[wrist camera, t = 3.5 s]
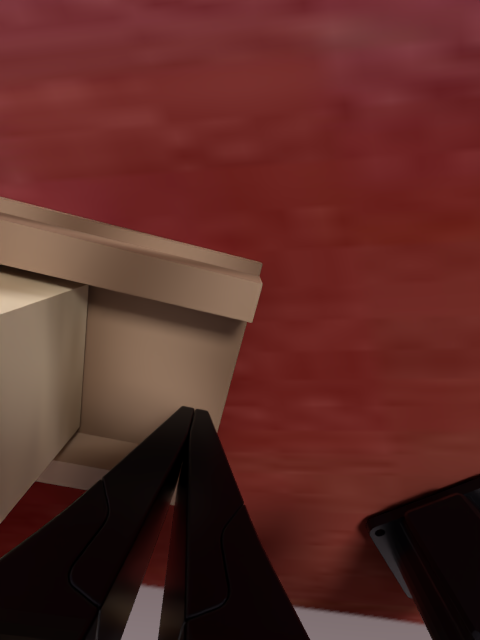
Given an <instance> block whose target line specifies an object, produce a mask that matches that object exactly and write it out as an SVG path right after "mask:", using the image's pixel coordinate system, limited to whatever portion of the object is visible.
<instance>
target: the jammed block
mask: <svg viewBox="0 0 480 640" xmlns="http://www.w3.org/2000/svg"><path fill="white" fill-rule="evenodd" d="M88 287H89V285H88V284H83V283H79V282H75V281H71V280H66V279H62V278H58V277H53V276H49V275H45V274H40V273H36V272H32V271H28V270H23V269H19V268H15V267H10V266H6V265H2V264H0V523H1V522H2V521H3V520H4V519H5V517H6V516H7V515H8V514H9V512H10V511H11V510H12V509H13V508H14V506H15V505H16V504H17V503H18V501H19V500H20V499H21V498H22V497H23V495H24V494H25V493H26V492H27V491H28V489H29V488H30V487H31V486H32V484H33V483H34V482H35V481H36V480H37V478H38V477H39V476H40V475H41V473H42V472H43V471H44V470H45V469H46V467H47V466H48V465H49V464H50V462H51V461H52V460H53V459H54V458H55V456H56V455H57V454H58V453H59V452H60V450H61V449H62V448H63V447H64V445H65V444H66V443H67V442H68V441H69V439H70V438H71V437H72V436H73V434H74V433H75V432H76V431H77V430H78V428H79V427H80V414H81V398H82V382H83V366H84V351H85V335H86V319H87V303H88Z"/></svg>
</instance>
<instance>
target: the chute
mask: <svg viewBox="0 0 480 640" xmlns="http://www.w3.org/2000/svg"><path fill="white" fill-rule="evenodd" d="M0 264H2V265H6V266H10V267H15V268H19V269H23V270H28V271H32V272H36V273H40V274H45V275H49V276H53V277H58V278H62V279H66V280H71V281H75V282H79V283H83V284H88V285H89V287H88V303H87V319H86V335H85V351H84V366H83V382H82V398H81V414H80V427H79V428H78V430H77V431H76V432H75V433H74V434H73V436H72V437H71V438H70V439H69V441H68V442H67V443H66V444H65V445H64V447H63V448H62V449H61V450H60V452H59V453H58V454H57V455H56V456H55V458H54V459H53V460H52V461H51V462H50V464H49V465H48V466H47V467H46V469H45V470H44V471H43V472H42V473H41V475H40V476H39V477H38V478H37V480H36V481H37V482H42V483H48V484H54V485H60V486H65V487H71V488H77V489H83V490H88V489H89V488H91V487H92V486H93V485H94V484H95V483H96V482H97V481H98V480H100V479H101V480H102V477H103V476H104V475H105V474H106V473H107V472H109V471H110V470H111V469H112V468H113V467H114V466H115V465H116V464H118V463H119V462H120V461H121V460H122V459H123V458H124V457H125V456H126V455H128V454H129V453H130V452H131V451H132V450H133V449H134V448H135V447H137V446H138V445H139V444H140V443H141V442H142V441H143V440H144V439H145V438H147V437H148V436H149V435H150V434H151V433H152V432H153V431H154V430H155V429H157V428H158V427H159V426H160V425H161V424H162V423H163V422H164V421H166V420H167V419H168V418H169V417H170V416H171V415H172V414H173V413H174V412H176V411H177V410H178V409H179V408H180V407H181V406H187V407H192V408H194V409H202V410H207V411H208V412H209V414H210V417H211V419H212V422H213V424H214V427H215V429H216V432H217V431H218V428H219V424H220V420H221V416H222V413H223V409H224V405H225V402H226V398H227V394H228V390H229V387H230V383H231V379H232V376H233V372H234V368H235V364H236V361H237V357H238V353H239V350H240V346H241V342H242V338H243V335H244V331H245V327H246V324H247V322H251V323H252V321H253V318H254V314H255V310H256V307H257V303H258V299H259V296H260V292H261V289H262V285H263V283H262V281H261V279H260V277H259V275H260V272H261V268H262V263H261V262H258V261H254V260H250V259H246V258H242V257H238V256H234V255H230V254H226V253H222V252H218V251H214V250H210V249H206V248H202V247H198V246H194V245H190V244H186V243H182V242H178V241H174V240H170V239H166V238H162V237H158V236H154V235H150V234H146V233H143V232H139V231H135V230H131V229H127V228H123V227H119V226H115V225H111V224H107V223H103V222H99V221H95V220H91V219H87V218H83V217H79V216H75V215H71V214H67V213H63V212H59V211H55V210H51V209H47V208H43V207H39V206H35V205H31V204H27V203H24V202H20V201H16V200H12V199H8V198H4V197H0ZM194 412H195V411H194ZM180 471H181V470H180ZM179 475H180V474H179ZM178 480H179V478H178ZM177 484H178V482H177ZM176 491H177V486H176V489H175V492H174V495H173V497H172V500H171V503H170V505H175V498H176Z"/></svg>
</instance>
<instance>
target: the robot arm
mask: <svg viewBox="0 0 480 640" xmlns="http://www.w3.org/2000/svg"><path fill="white" fill-rule="evenodd" d="M194 411H195V412H194ZM180 470H181V471H180ZM179 474H180V475H179ZM178 478H179V480H178ZM177 482H178V484H177ZM176 486H177V491H176V498H175V506H174V514H173V522H172V530H171V538H170V546H169V554H168V562H167V570H166V579H165V587H164V595H163V603H162V611H161V619H160V627H159V636H158V640H310V638H309V637H308V635H307V633H306V631H305V629H304V627H303V625H302V623H301V621H300V619H299V617H298V615H297V614H296V611H295V610H294V608H293V606H292V604H291V602H290V600H289V598H288V596H287V594H286V592H285V590H284V588H283V586H282V584H281V582H280V580H279V579H278V577H277V575H276V573H275V571H274V569H273V567H272V565H271V563H270V561H269V559H268V557H267V555H266V553H265V551H264V549H263V546H262V544H261V542H260V540H259V538H258V535H257V533H256V531H255V528H254V526H253V524H252V521H251V519H250V516H249V514H248V511H247V509H246V506H245V505H243V504H244V501H243V499H242V496H241V493H240V491H239V488H238V486H237V483H236V481H235V478H234V476H233V473H232V470H231V468H230V465H229V463H228V460H227V458H226V455H225V452H224V450H223V447H222V445H221V442H220V440H219V437H218V435H217V432H216V429H215V427H214V424H213V422H212V419H211V417H210V414H209V412H208V411H207V410H202V409H194V408H192V407H187V406H181V407H180V408H179V409H178V410H177V411H176V412H174V413H173V414H172V415H171V416H170V417H169V418H168V419H167V420H166V421H164V422H163V423H162V424H161V425H160V426H159V427H158V428H157V429H155V430H154V431H153V432H152V433H151V434H150V435H149V436H148V437H147V438H145V439H144V440H143V441H142V442H141V443H140V444H139V445H138V446H137V447H135V448H134V449H133V450H132V451H131V452H130V453H129V454H128V455H126V456H125V457H124V458H123V459H122V460H121V461H120V462H119V463H118V464H116V465H115V466H114V467H113V468H112V469H111V470H110V471H109V472H107V473H106V474H105V475H104V476H103V477H102V480H101V479H100V480H98V481H97V482H96V483H95V484H94V485H93V486H92V487H91V488H89V489H88V490H87V491H86V492H85V493H84V494H83V495H81V496H80V497H79V498H78V499H77V500H75V501H74V502H73V503H72V504H71V505H70V506H68V507H67V508H66V509H65V510H64V511H62V512H61V513H60V514H58V515H57V516H56V517H55V518H53V519H52V520H51V521H49V522H48V523H47V524H45V525H44V526H43V527H42V528H40V529H39V530H38V531H36V532H35V533H34V534H32V535H31V536H30V537H28V538H27V539H26V540H24V541H23V542H22V543H20V544H19V545H18V546H16V547H15V548H14V549H12V550H11V551H9V552H8V553H7V554H5V555H4V556H3V557H1V558H0V640H121V637H122V635H123V632H124V629H125V626H126V623H127V621H128V618H129V615H130V612H131V610H132V607H133V604H134V602H135V599H136V596H137V593H138V591H139V588H140V585H141V583H142V580H143V577H144V574H145V572H146V569H147V566H148V563H149V561H150V558H151V555H152V552H153V550H154V547H155V544H156V541H157V539H158V536H159V533H160V530H161V528H162V525H163V522H164V519H165V517H166V514H167V511H168V508H169V506H170V503H171V500H172V497H173V495H174V492H175V489H176ZM366 527H367V530H368V532H369V535H370V537H371V538H372V540H373V542H374V543H375V545H376V546H377V548H378V550H379V551H380V553H381V555H382V556H383V558H384V559H385V561H386V563H387V564H388V566H389V568H390V569H391V571H392V572H393V574H394V576H395V577H396V579H397V580H398V582H399V584H400V585H401V587H402V589H403V590H404V592H405V593H406V595H407V596H408V597H409V598H412V599H413V600H414V602H415V604H416V606H417V608H418V611H419V613H420V615H421V617H422V619H423V621H424V623H425V625H426V627H427V630H428V632H429V634H430V636H431V638H432V640H480V478H477V479H475V480H472V481H469V482H467V483H464V484H461V485H459V486H456V487H453V488H451V489H448V490H445V491H443V492H440V493H437V494H435V495H432V496H430V497H427V498H424V499H422V500H419V501H416V502H414V503H411V504H408V505H406V506H403V507H400V508H398V509H395V510H392V511H390V512H387V513H385V514H382V515H379V516H377V517H374V518H372V519H370V520H368V522H367V523H366Z"/></svg>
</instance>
